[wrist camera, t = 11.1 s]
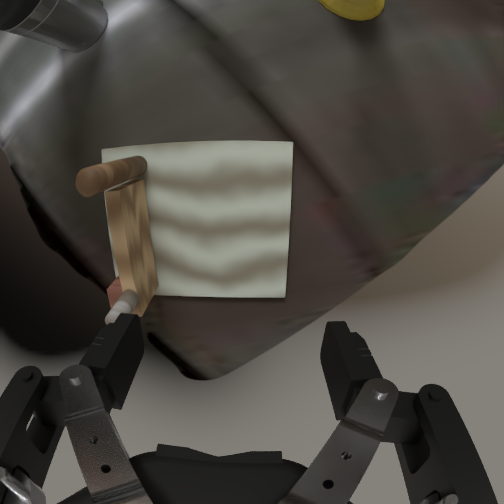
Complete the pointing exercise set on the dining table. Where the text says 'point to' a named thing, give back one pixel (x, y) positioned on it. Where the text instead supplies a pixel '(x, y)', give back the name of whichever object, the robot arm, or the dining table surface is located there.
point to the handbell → (355, 8)
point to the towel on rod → (207, 213)
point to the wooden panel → (131, 248)
